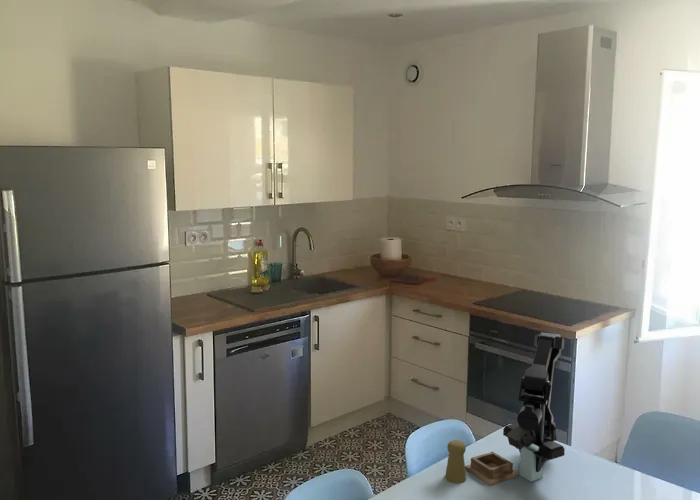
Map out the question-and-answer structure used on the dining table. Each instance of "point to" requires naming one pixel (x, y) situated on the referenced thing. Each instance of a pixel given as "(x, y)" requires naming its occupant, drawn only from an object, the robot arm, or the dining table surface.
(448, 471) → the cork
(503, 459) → the walnut socket
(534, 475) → the painted peg
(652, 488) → the dining table surface
